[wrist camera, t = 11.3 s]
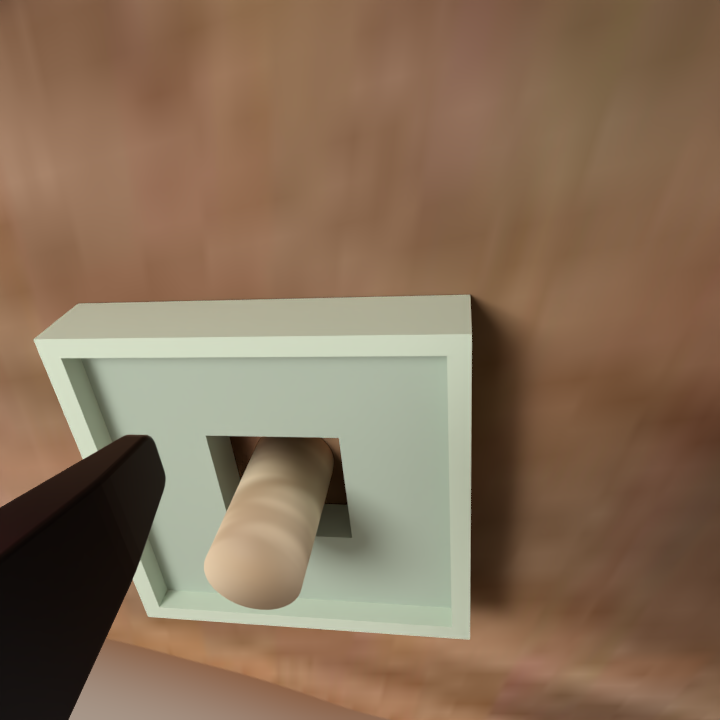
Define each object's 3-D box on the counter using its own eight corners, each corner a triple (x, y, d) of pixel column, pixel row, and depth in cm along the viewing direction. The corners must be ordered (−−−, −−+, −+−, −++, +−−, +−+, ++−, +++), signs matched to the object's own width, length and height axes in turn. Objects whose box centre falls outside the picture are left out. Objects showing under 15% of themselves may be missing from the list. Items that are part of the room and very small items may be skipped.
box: (470, 294, 22) (471, 334, 19) (468, 584, 29) (469, 639, 27) (78, 303, 24) (33, 339, 22) (172, 567, 32) (148, 616, 29)
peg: (329, 426, 26) (294, 543, 20) (338, 489, 27) (308, 613, 22) (249, 426, 26) (193, 538, 21) (263, 487, 28) (215, 606, 23)
